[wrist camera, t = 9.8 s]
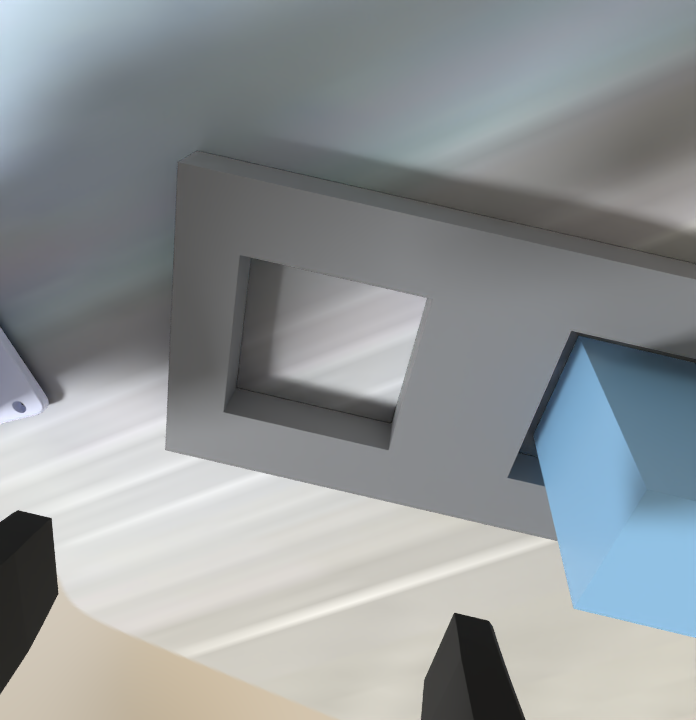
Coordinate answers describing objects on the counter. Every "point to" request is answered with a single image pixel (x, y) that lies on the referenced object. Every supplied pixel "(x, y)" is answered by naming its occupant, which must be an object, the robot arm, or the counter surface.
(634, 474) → the plug
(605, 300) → the holder plate
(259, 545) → the counter surface
